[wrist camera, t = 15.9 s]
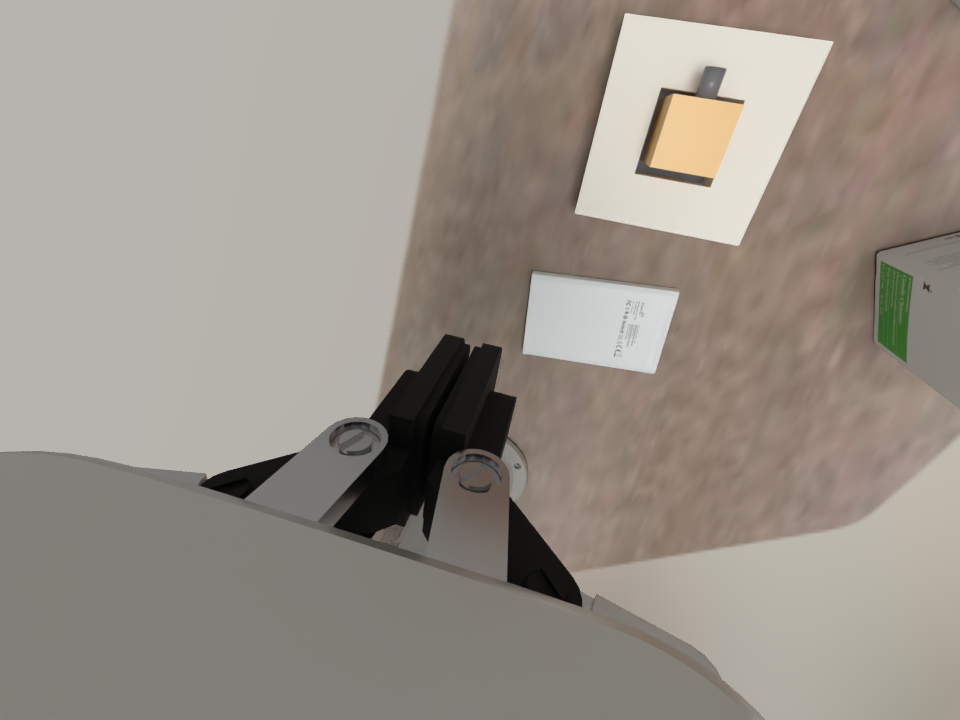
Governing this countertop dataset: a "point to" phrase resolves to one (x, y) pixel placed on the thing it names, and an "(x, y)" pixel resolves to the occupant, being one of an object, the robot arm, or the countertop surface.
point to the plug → (693, 129)
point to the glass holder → (956, 3)
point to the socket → (678, 70)
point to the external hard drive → (598, 321)
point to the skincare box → (922, 310)
